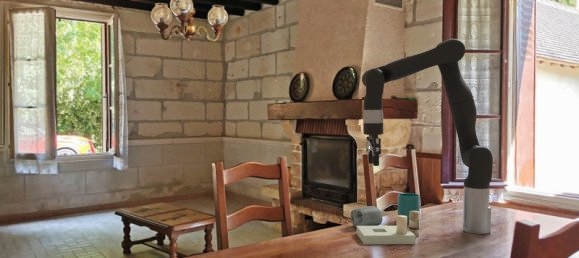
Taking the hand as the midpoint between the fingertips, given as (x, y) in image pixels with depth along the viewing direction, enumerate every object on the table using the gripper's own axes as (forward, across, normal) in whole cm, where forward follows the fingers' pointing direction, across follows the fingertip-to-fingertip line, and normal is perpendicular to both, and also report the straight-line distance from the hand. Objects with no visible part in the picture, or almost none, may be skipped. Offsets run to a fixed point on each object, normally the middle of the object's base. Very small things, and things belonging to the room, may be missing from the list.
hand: (373, 164), depth 176 cm
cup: (+27, +19, -20) cm, 38 cm away
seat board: (+26, -9, -2) cm, 27 cm away
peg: (+26, -5, -14) cm, 30 cm away
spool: (+26, +9, +1) cm, 28 cm away
